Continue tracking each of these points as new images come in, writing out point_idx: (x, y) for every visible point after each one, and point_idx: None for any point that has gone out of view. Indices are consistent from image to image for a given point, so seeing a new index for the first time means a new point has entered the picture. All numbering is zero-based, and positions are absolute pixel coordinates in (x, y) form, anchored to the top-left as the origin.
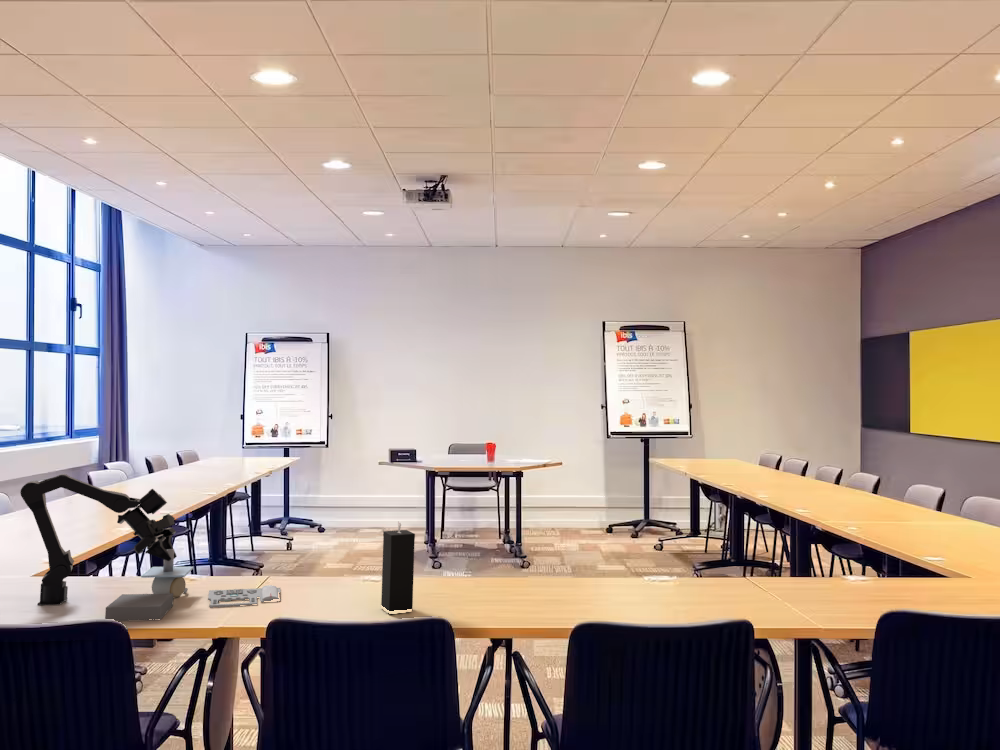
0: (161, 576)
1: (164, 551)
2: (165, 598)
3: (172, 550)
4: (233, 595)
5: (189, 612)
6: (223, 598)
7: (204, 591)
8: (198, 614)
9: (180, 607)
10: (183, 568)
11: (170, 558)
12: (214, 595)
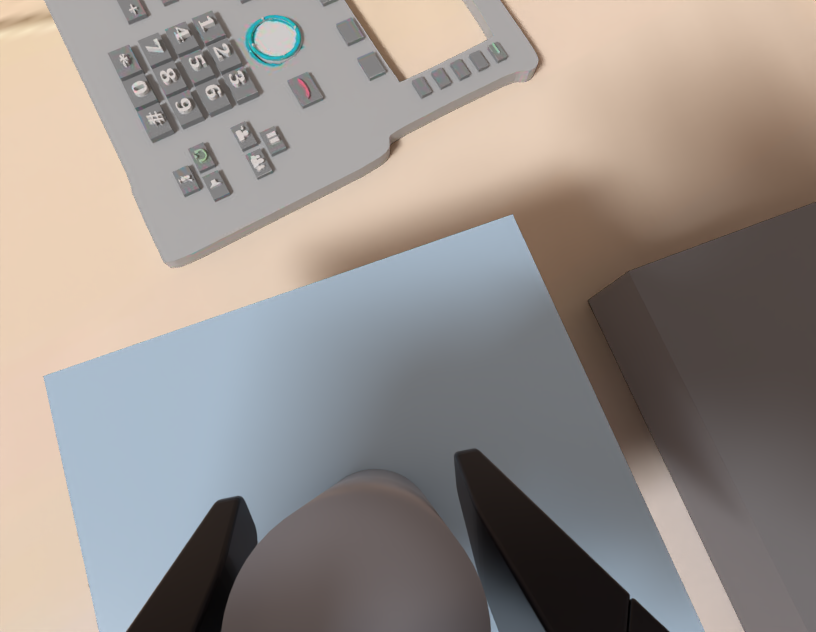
0: (616, 451)
1: (627, 596)
2: (779, 238)
3: (395, 495)
4: (277, 41)
5: (665, 127)
6: (375, 56)
7: (149, 318)
8: (679, 62)
9: (591, 237)
10: (188, 427)
11: (482, 457)
12: (304, 153)
